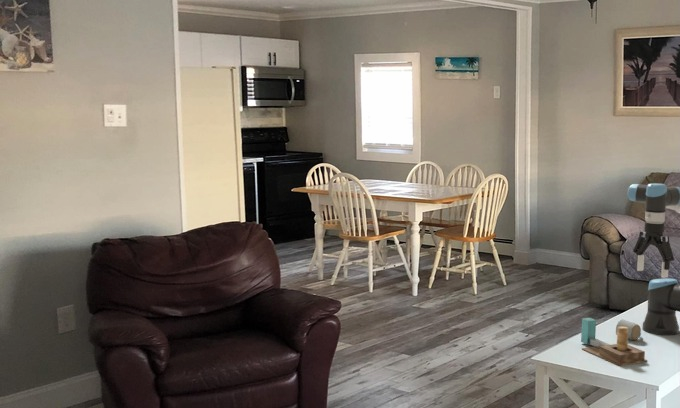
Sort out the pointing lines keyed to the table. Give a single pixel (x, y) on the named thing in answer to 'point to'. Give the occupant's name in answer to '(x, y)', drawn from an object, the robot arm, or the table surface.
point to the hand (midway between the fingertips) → (652, 274)
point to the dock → (618, 354)
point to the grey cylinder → (630, 329)
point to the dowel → (622, 339)
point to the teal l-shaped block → (590, 333)
